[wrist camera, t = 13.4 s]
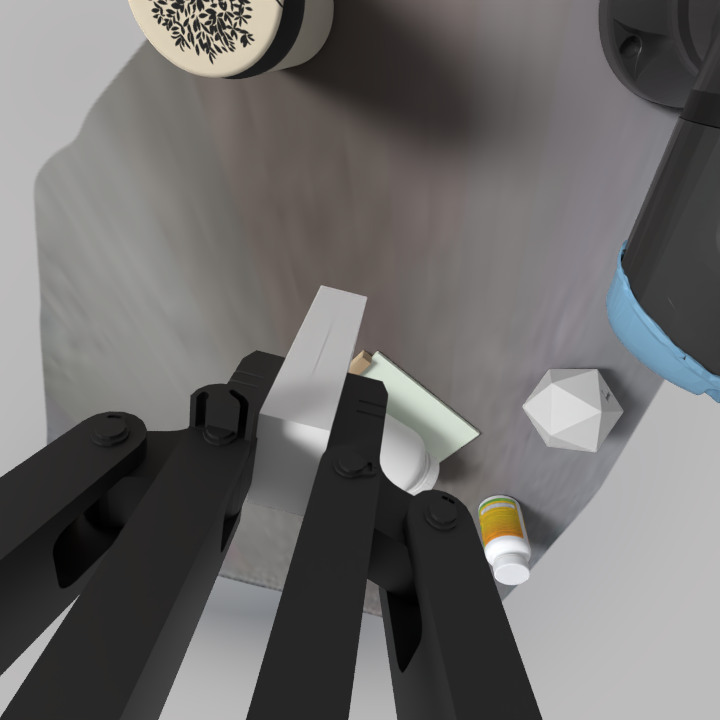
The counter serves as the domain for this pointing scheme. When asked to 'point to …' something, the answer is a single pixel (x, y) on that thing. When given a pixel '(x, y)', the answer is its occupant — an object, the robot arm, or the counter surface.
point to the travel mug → (235, 33)
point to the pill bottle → (407, 458)
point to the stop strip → (360, 363)
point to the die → (573, 409)
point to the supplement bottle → (505, 539)
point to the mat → (420, 409)
